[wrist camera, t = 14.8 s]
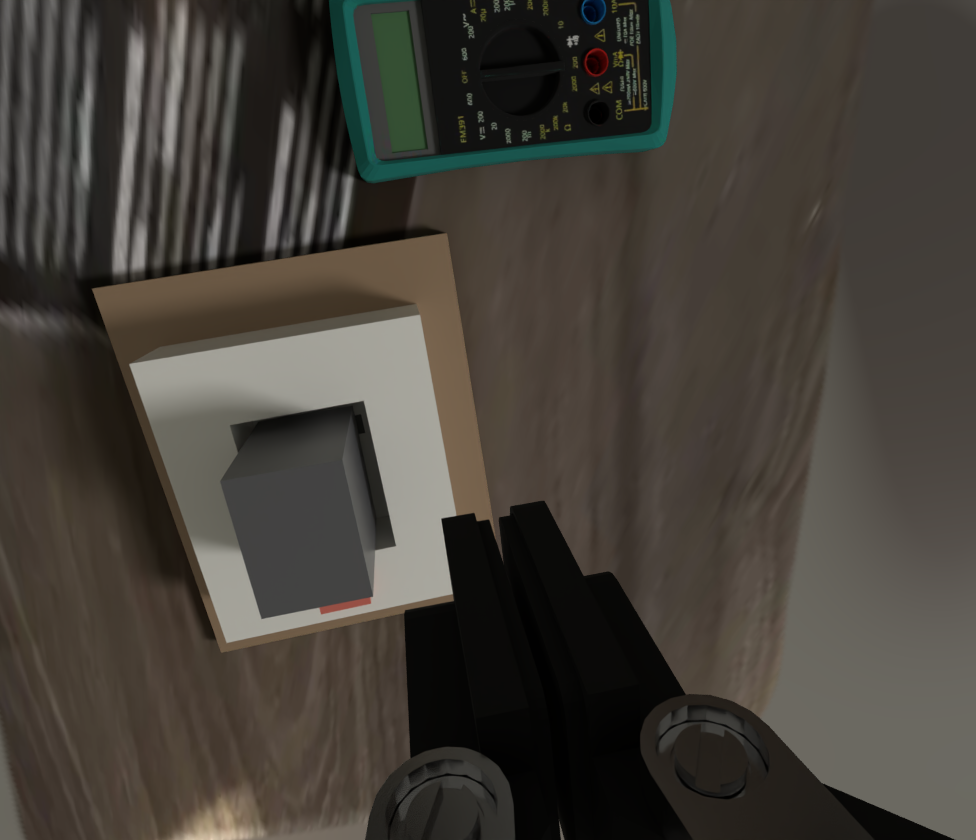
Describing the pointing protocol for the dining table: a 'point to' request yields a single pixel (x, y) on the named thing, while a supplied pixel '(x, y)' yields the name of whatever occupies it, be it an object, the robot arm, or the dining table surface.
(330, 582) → the plug
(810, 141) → the dining table surface
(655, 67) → the digital multimeter
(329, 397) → the socket
